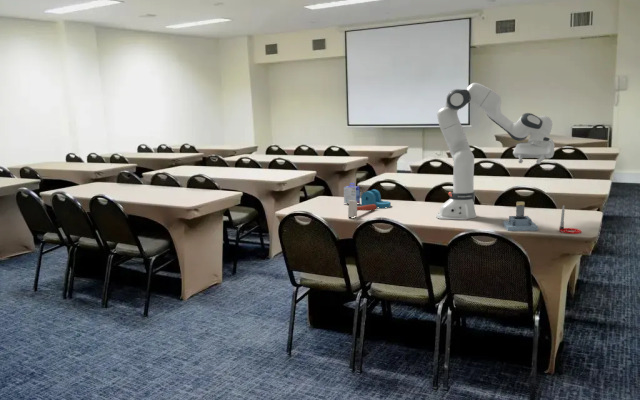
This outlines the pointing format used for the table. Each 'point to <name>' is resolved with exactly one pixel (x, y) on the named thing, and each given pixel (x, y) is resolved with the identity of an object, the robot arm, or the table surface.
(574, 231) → the tow hook
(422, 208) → the table surface
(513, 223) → the block
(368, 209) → the mallet
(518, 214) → the key rod
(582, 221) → the table surface
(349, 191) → the ink cartridge box
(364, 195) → the camera mount
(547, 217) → the table surface
